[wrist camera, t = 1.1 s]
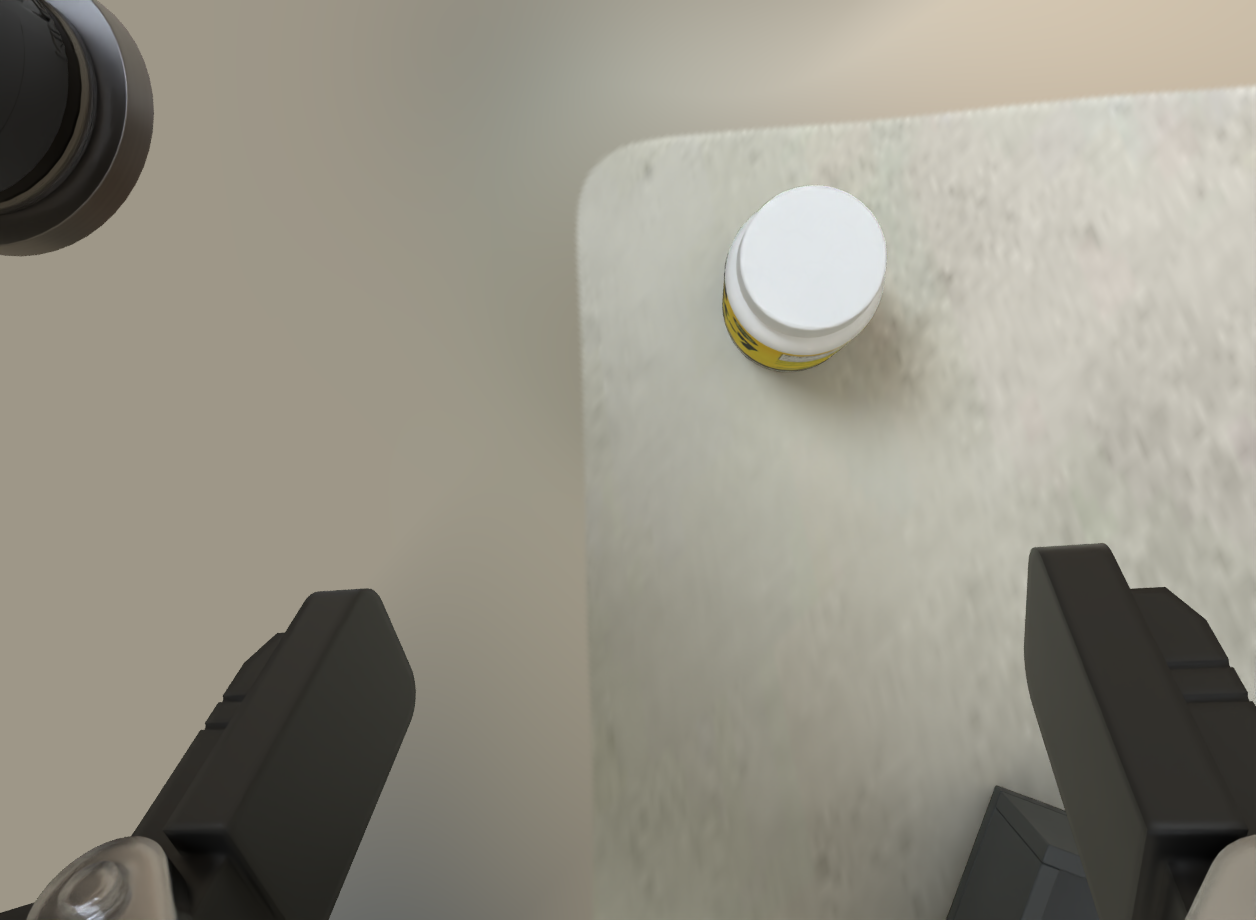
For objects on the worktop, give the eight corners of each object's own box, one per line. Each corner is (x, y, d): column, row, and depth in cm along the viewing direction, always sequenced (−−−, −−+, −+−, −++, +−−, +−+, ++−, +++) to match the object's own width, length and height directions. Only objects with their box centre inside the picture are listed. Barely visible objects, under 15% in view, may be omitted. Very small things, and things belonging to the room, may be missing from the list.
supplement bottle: (710, 257, 33) (709, 188, 25) (839, 229, 33) (883, 148, 24) (736, 386, 33) (745, 360, 25) (866, 359, 33) (919, 323, 24)
